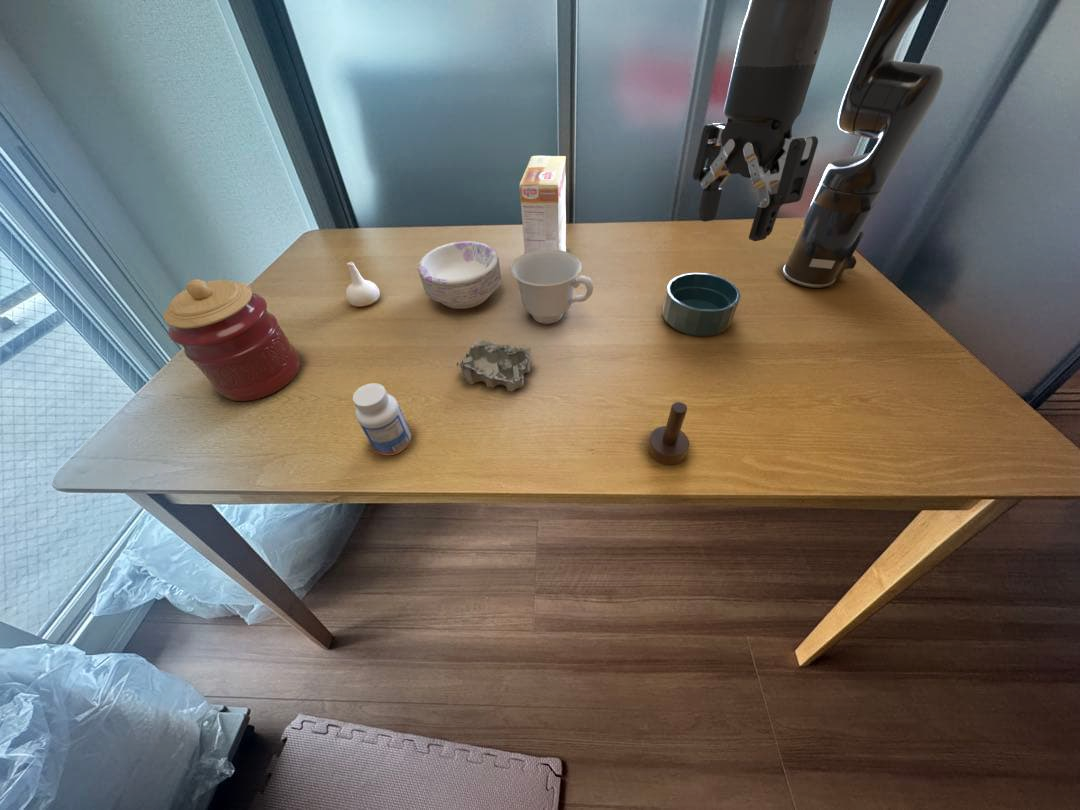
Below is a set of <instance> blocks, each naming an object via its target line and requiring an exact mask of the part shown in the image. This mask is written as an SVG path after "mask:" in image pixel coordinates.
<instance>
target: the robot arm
mask: <svg viewBox="0 0 1080 810" xmlns="http://www.w3.org/2000/svg"><path fill="white" fill-rule="evenodd" d="M929 1H930V0H881V1H880V4H879V6H878V9H877V12H876V14H875V18H874V20H873V23H872V25H871V28H870V30H869V32H868V34H867V36H866V40H865V42H864V44H863V47H862V49H861V52H860V54H859V57H858V59H857V61H856V64H855V66H854V69H853V71H852V74H851V76H850V78H849V81H848V84H847V86H846V89H845V92H844V94H843V97H842V100H841V103H840V106H839V110H838V115H837V127H838V129H839V130H840V131H841V132H843V133H845V134H849V135H854V136H858V137H862V138H868V139H874V140H877V142H876V144H875V145H874V147H873V148H872V150H871V151H869V152H867V153H864V154H858V155H851V156H844V157H840V158H837V159H834V160H831V162H830V163H828V165H827V167H826V168H825V170H824V172H823V175H822V178H821V180H820V182H819V185H818V187H817V189H816V191H815V194H814V195H813V199H812V201H811V203H810V206H809V207H808V210H807V213H806V215H805V218H804V219H803V222H802V224H801V227H800V230H799V231H798V234H797V237H796V239H795V241H794V244H793V247H792V248H791V250H790V253H789V255H788V257H787V260H786V263H785V264H784V266H783V268H782V275H783V277H784V278H785V279H787V281H789V282H791V283H793V284H795V285H798V286H801V287H806V288H810V289H823V288H828V287H830V286H832V285H833V284H835V282H837V281H840V279H841V277H842V275H843V273H844V271H845V270H849V269H850V270H852V269H853V270H854V268H855V267H856V265H857V259H856V256H854V253H855V251H856V249H857V247H858V246H859V244H860V242H861V240H862V238H863V236H864V231H863V227H864V225H865V224H866V222H867V220H868V218H869V216H870V214H871V212H872V210H873V209H874V206H875V204H876V202H877V201H878V199H879V197H880V195H881V194H882V192H883V190H884V189H885V186H886V184H887V183H888V181H889V179H890V177H891V175H892V174H893V172H894V171H895V169H896V167H897V166H898V164H899V163H900V161H901V159H902V157H903V155H904V154H905V152H906V150H907V148H908V146H909V145H910V143H911V141H912V139H913V138H914V136H915V135H916V132H917V131H918V129H919V128H920V126H921V124H922V123H923V121H924V120H925V118H926V117H927V114H928V113H929V112H930V110H931V108H932V106H933V104H934V102H935V100H936V99H937V96H938V94H939V92H940V90H941V87H942V85H943V82H944V81H943V80H944V71H943V68H942V67H940V66H938V65H933V64H928V63H927V64H926V63H919V62H909V61H898V60H894V59H895V56H896V53H897V51H898V50H897V49H898V48H899V45H900V44H901V41H902V39H903V38H904V36H905V34H906V32H907V30H908V28H909V27H910V25H911V24H912V23H913V21H914V20H915V18H916V17H917V16H918V15H919V13H920V12H921V10H923V8H924V7H925V6H927V5H926V4H928V2H929ZM833 2H834V0H749V3H748V8H747V10H746V15H745V17H744V20H743V23H742V26H741V30H740V34H739V38H738V43H737V47H736V51H735V57H734V62H733V65H732V66H733V67H732V70H731V75H730V79H729V80H730V81H729V85H728V89H727V94H726V98H725V104H724V107H723V115H724V117H725V118H727V121H726V123H724V122H720V123H719V122H717V123H715V122H714V123H710V124H705V125H704V126H703V129H702V133H701V137H700V141H699V146H698V150H697V154H696V157H695V158H696V159H695V163H694V167H693V171H692V179H693V180H694V181H699V182H700V186H701V188H702V193H701V198H700V203H699V207H698V219H699V220H700V221H702V222H704V223H705V222H710V221H714V220H715V218H716V217H717V213H718V208H719V204H720V202H721V201H720V200H721V196H722V192H723V188H721V186H722V185H723V184H724V183H725V182H726V181H727V179H728V178H730V176H731V175H736V174H739V175H740V176H742V177H743V178H747V179H750V180H751V185H752V187H753V188H754V189H756V191H757V196H758V201H759V205H757V208H756V211H755V214H754V218H753V220H752V224H751V227H750V231H749V234H748V239H749V240H750V241H753V242H759V241H764V240H766V238H767V237H768V236H770V235H771V234H772V232H773V229H774V226H775V223H776V220H777V218H778V214H779V211H780V209H781V207H782V206H783V205H787V204H792V203H793V204H794V203H798V202H799V201H800V200H801V199H802V197H803V194H804V190H805V187H806V184H807V182H808V177H809V173H810V171H811V167H812V164H813V161H814V157H815V155H816V151H817V147H818V144H819V139H818V137H817V135H816V136H815V135H812V136H804V137H793V135H792V131H793V125H794V123H795V121H796V120H797V118H798V117H799V116H800V115H801V113H802V110H803V107H804V104H805V101H806V97H807V94H808V90H809V88H810V84H811V82H812V78H813V75H814V72H815V68H816V66H817V62H818V59H819V56H820V52H821V50H822V47H823V43H824V40H825V37H826V33H827V29H828V26H829V22H830V16H831V11H832V6H833ZM721 149H722V150H721ZM783 160H785V161H784V165H783ZM706 161H707V163H706ZM705 165H706V167H705ZM768 172H769V174H766V173H768Z"/></svg>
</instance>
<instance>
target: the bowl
mask: <svg viewBox="0 0 1080 810" xmlns="http://www.w3.org/2000/svg"><path fill="white" fill-rule="evenodd" d="M741 296H742V295H741V292H740V289H739V288H738V287H737V286H736V285H735V284H734V283H733V282H731V281H730V280H729V279H727V278H725V277H723V276H722V277H721V276H719V275H716V274H711V273H707V272H689V273H682V274H680V275H677V276H675V277H673V278H672V279H671V280H669V282H668V284H667V286H666V289H665V295H664V300H663V303H662V309H661V313H662V318H663V319H664V320H665V322H666V323H667V324H668V325H669V326H671V327H672V328H673V329H674V330H676V331H678V332H680V333H683V334H686V335H690V336H695V337H708V336H709V337H710V336H714V335H719V334H720V333H723V332H725V331H726V330H727V329H728V328H729V327H730V326H731V325H732V322H733V320H734V316H735V314H736V311H737V308H738V305H739V303H740V300H741Z"/></svg>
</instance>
